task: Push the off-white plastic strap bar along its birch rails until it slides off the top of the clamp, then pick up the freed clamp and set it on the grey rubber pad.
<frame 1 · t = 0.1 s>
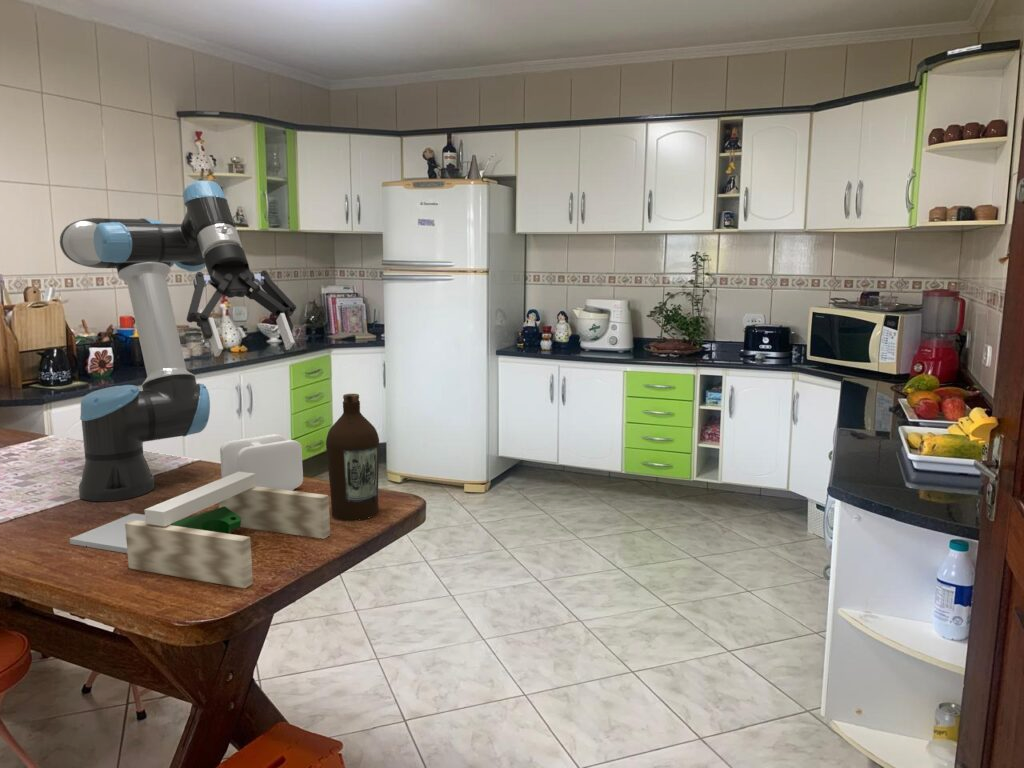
hand: (255, 349, 143), 36 cm above the table, tool tilted 35°, fingers open, 13 cm apart
cable organizer: (263, 491, 177), on the table
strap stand: (234, 550, 142), on the table
olive oil: (355, 514, 161), on the table
grey pad: (131, 534, 149), on the table
clamp: (208, 548, 144), on the table
strap bar: (204, 496, 142), point 10 cm above the table, slide at 0.0 cm
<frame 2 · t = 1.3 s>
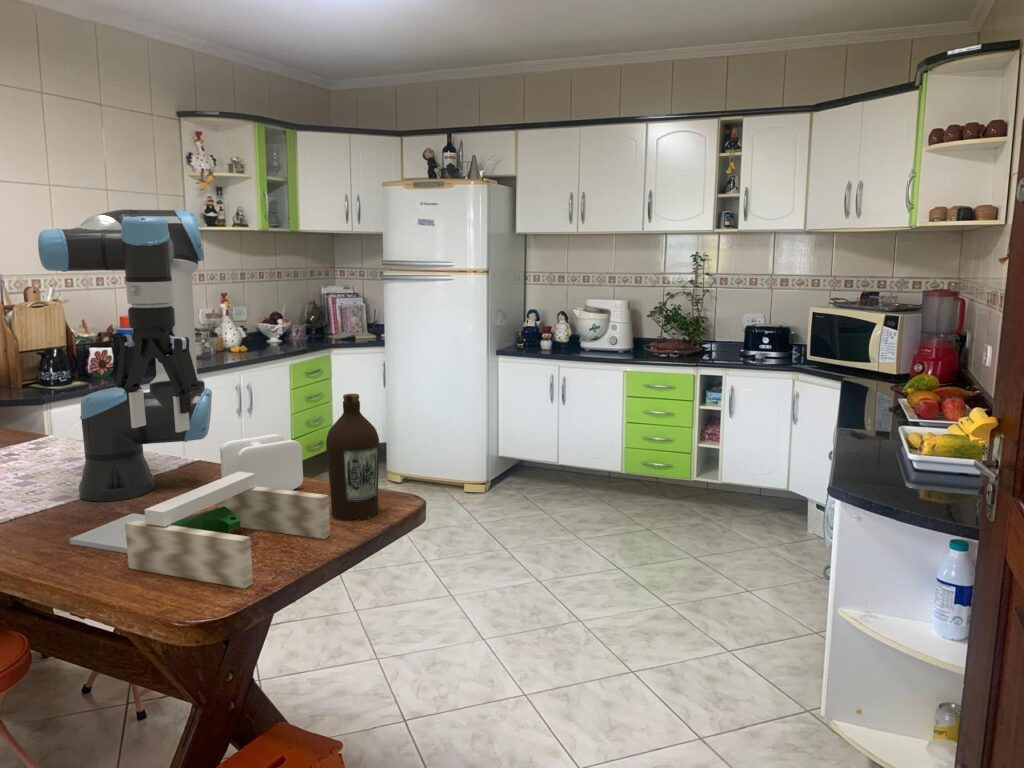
hand: (160, 428, 143), 22 cm above the table, tool pointing down, fingers open, 9 cm apart
nothing on the table moved.
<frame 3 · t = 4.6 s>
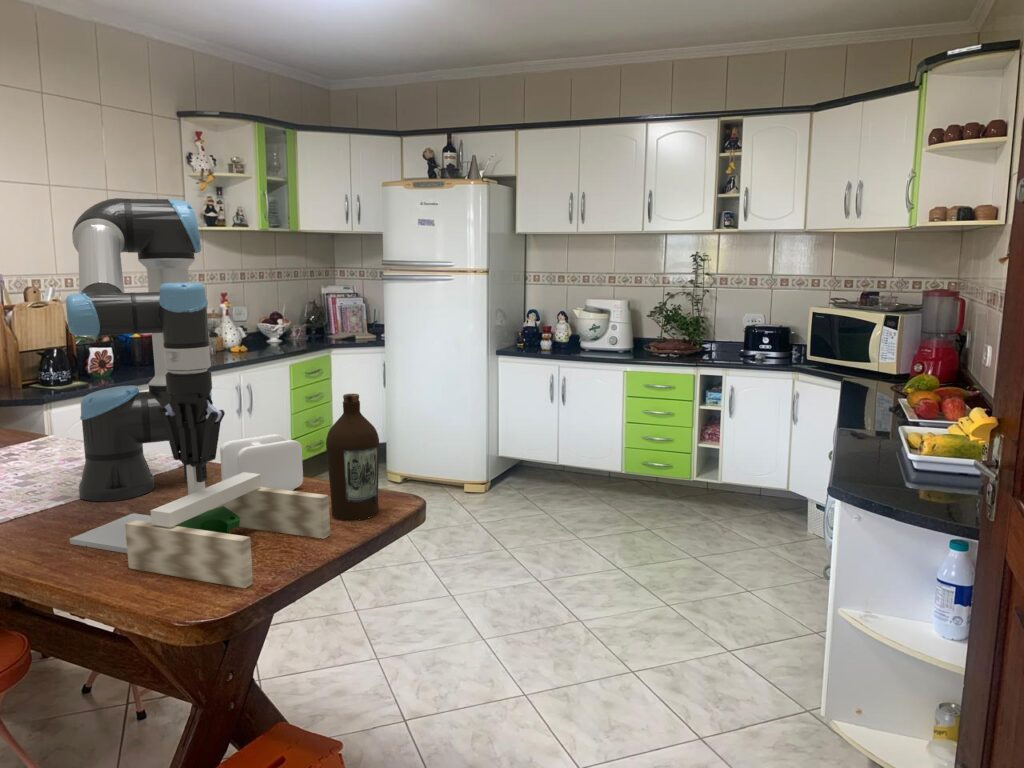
hand: (197, 498, 142), 9 cm above the table, tool pointing down, fingers closed
strap bar: (210, 497, 141), point 10 cm above the table, slide at 1.3 cm, touching gripper
everything else where it was.
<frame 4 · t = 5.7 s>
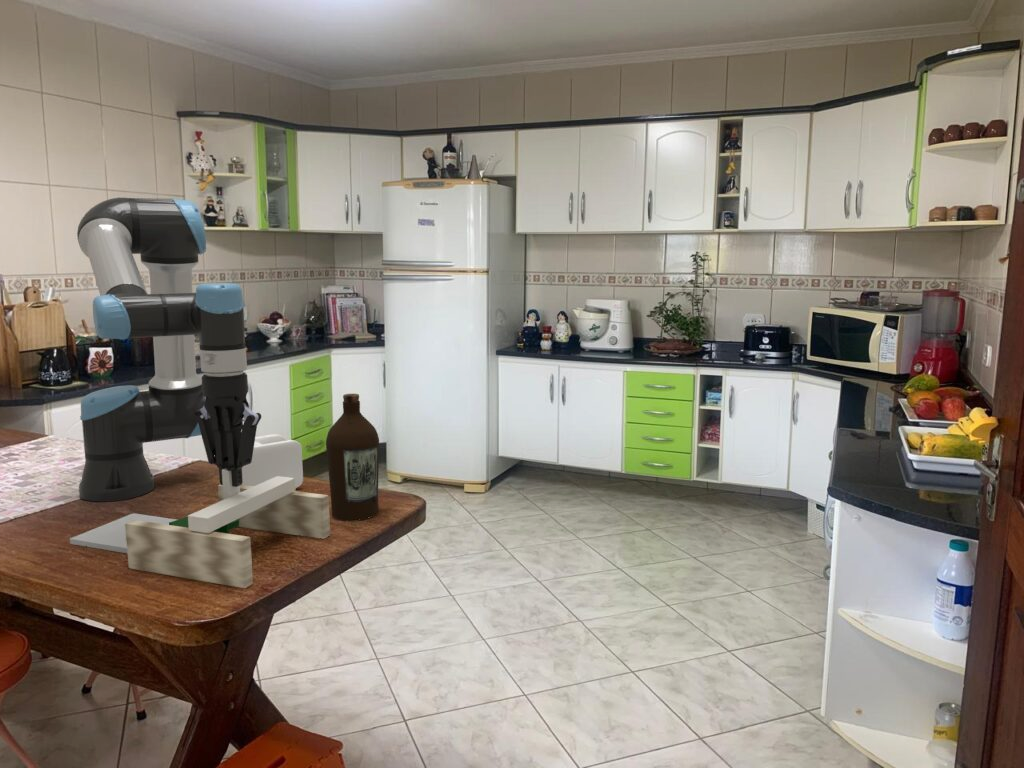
hand: (232, 502, 140), 9 cm above the table, tool pointing down, fingers closed
strap bar: (245, 502, 139), point 10 cm above the table, slide at 9.0 cm, touching gripper
everything else where it was.
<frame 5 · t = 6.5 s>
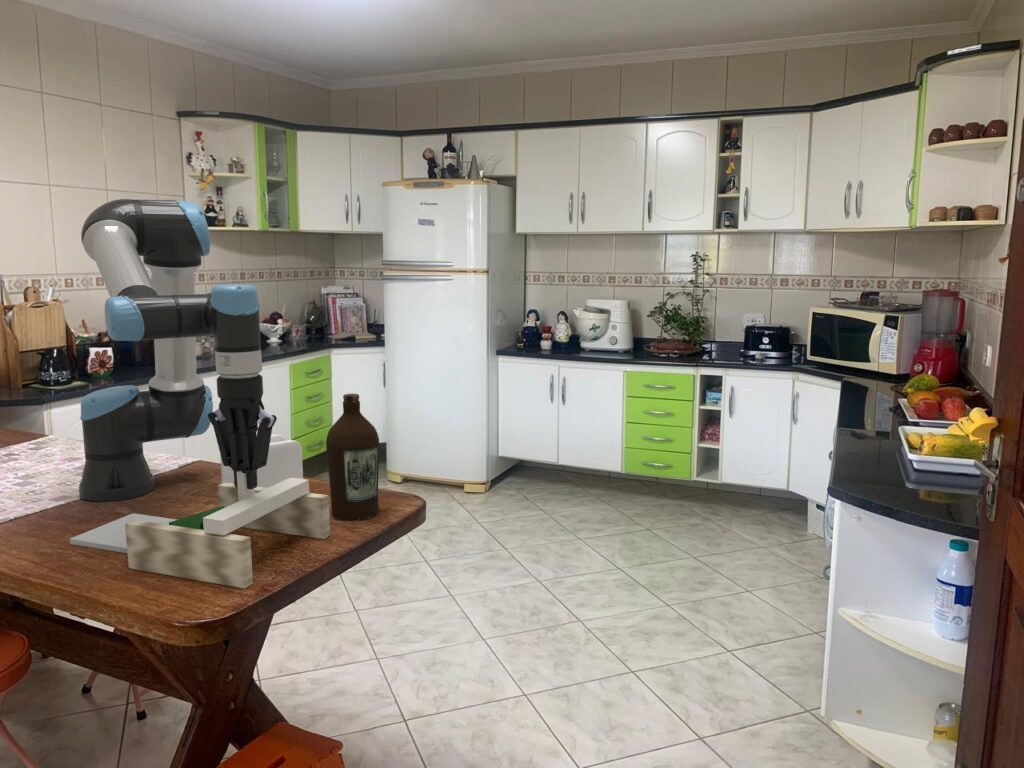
hand: (247, 505, 139), 9 cm above the table, tool pointing down, fingers closed
strap bar: (260, 504, 138), point 10 cm above the table, slide at 12.1 cm, touching gripper
everything else where it was.
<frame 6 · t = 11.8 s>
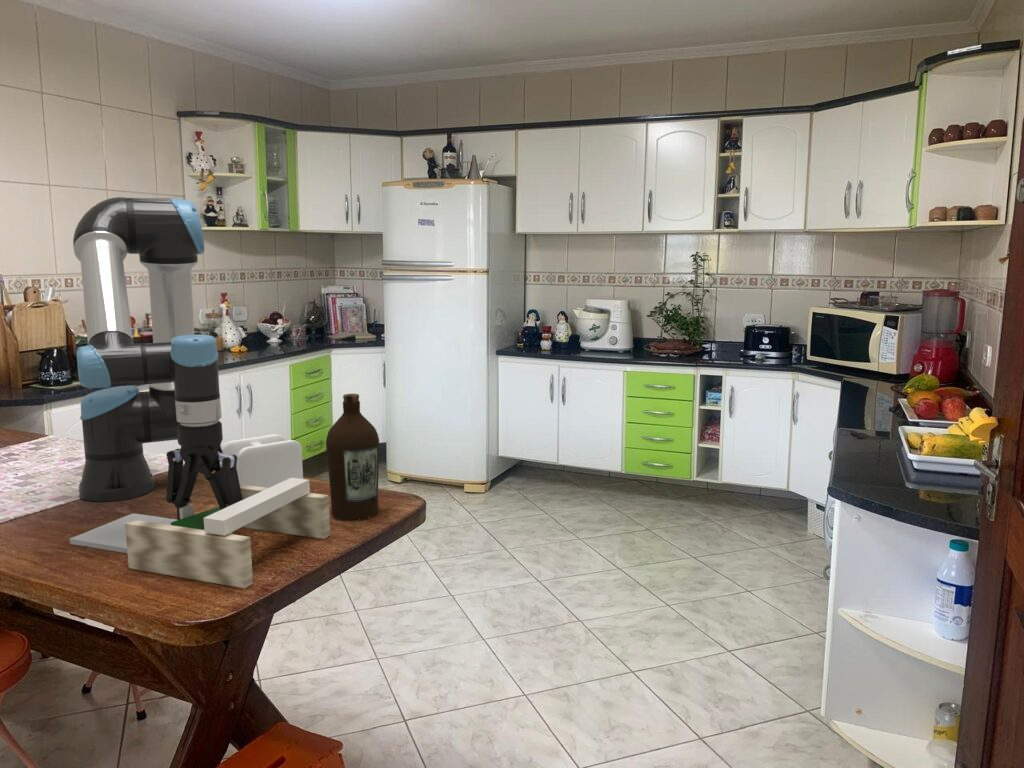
hand: (207, 542, 143), 1 cm above the table, tool pointing down, fingers closed on clamp, 8 cm apart
clamp: (208, 547, 144), on the table, touching gripper
strap bar: (260, 504, 138), point 10 cm above the table, slide at 12.2 cm
everything else where it was.
when the fingers open (3 cm above the table, at t = 20.2 s): clamp stays where it is, resting on grey pad.
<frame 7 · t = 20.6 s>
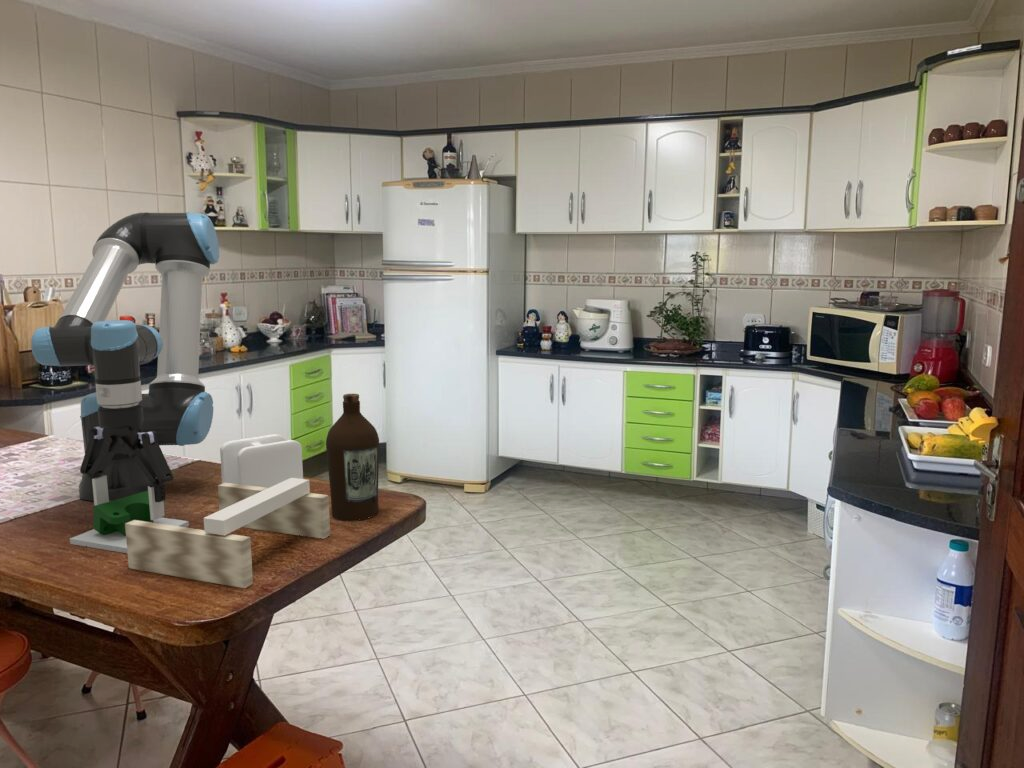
hand: (129, 513, 149), 4 cm above the table, tool pointing down, fingers open, 13 cm apart
clamp: (131, 530, 149), point 1 cm above the table, touching grey pad
everything else where it was.
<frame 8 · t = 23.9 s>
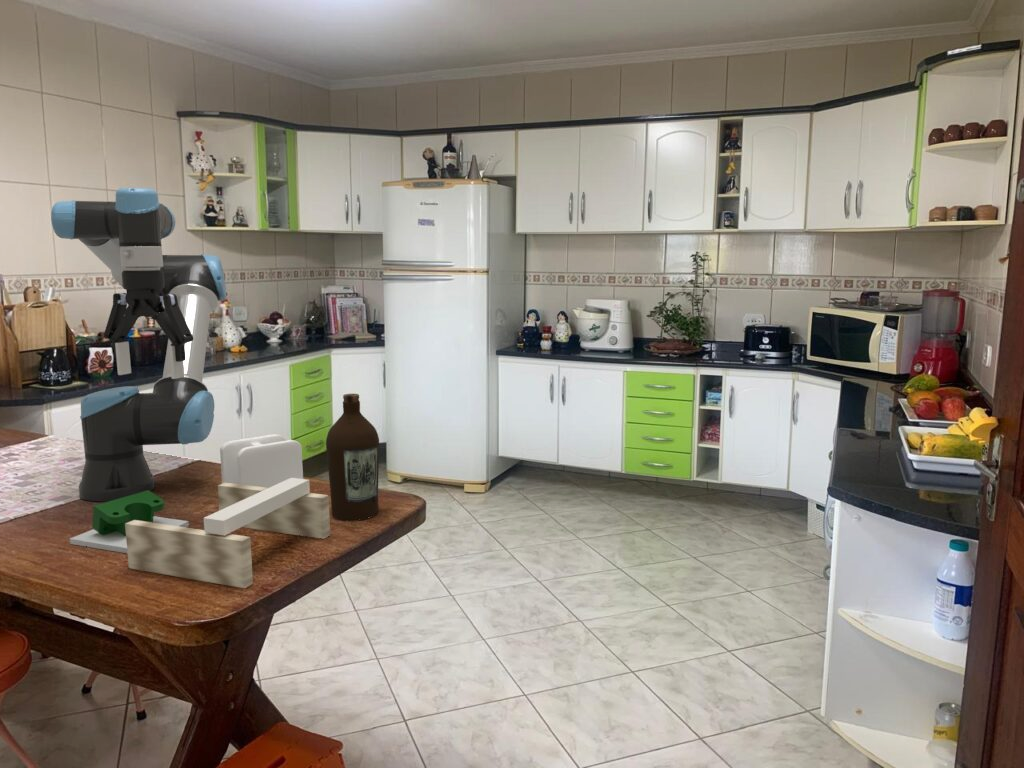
hand: (151, 376, 157), 29 cm above the table, tool pointing down, fingers open, 13 cm apart
nothing on the table moved.
at the end: strap bar slide at 12.2 cm; clamp inside the target area on the grey pad (0.2 cm from its centre), point 0.8 cm above the grey pad's base; the gripper is holding nothing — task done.
